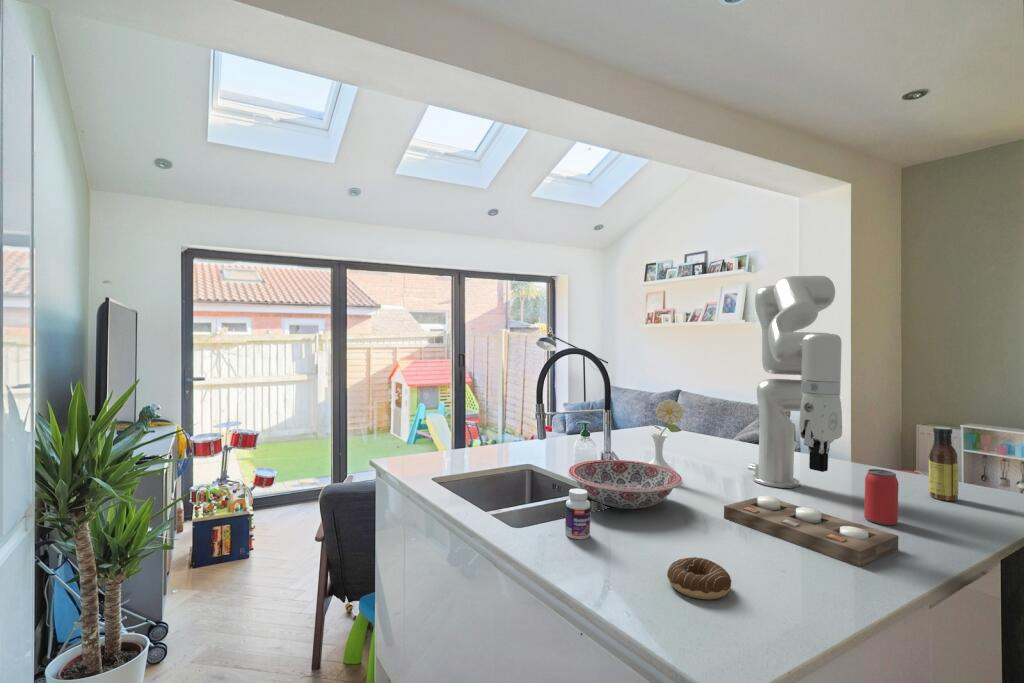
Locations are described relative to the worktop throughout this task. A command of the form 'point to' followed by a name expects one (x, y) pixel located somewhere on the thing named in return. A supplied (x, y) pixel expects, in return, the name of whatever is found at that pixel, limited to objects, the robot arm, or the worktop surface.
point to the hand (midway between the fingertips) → (818, 469)
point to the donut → (699, 578)
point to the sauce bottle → (943, 466)
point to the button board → (814, 532)
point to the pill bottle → (577, 514)
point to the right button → (854, 532)
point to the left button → (768, 503)
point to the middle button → (808, 515)
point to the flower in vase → (669, 414)
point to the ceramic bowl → (625, 482)
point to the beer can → (881, 497)
